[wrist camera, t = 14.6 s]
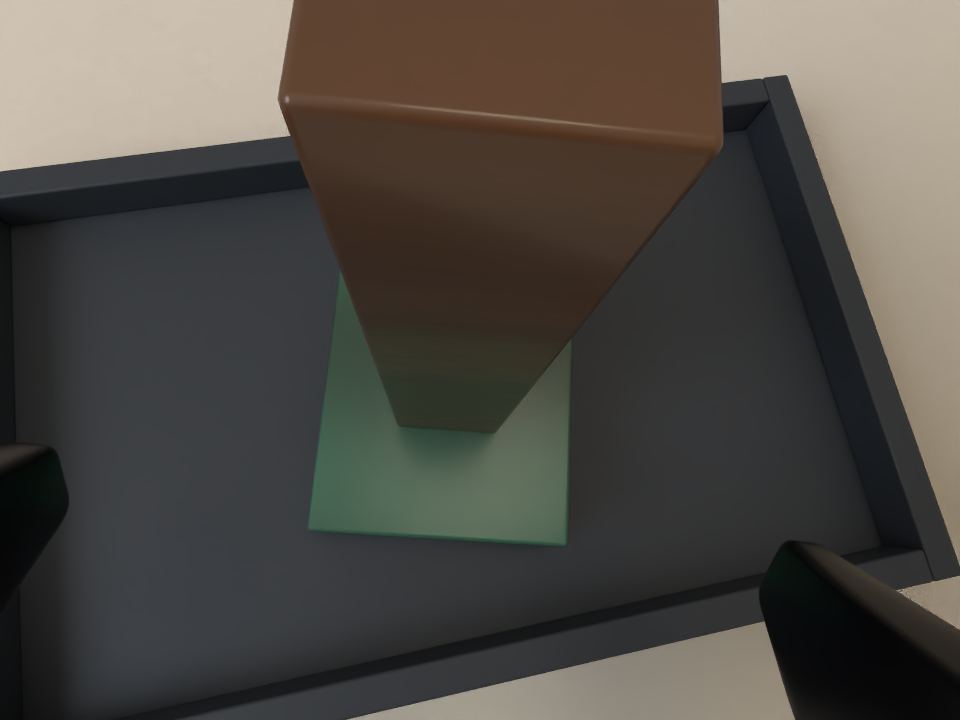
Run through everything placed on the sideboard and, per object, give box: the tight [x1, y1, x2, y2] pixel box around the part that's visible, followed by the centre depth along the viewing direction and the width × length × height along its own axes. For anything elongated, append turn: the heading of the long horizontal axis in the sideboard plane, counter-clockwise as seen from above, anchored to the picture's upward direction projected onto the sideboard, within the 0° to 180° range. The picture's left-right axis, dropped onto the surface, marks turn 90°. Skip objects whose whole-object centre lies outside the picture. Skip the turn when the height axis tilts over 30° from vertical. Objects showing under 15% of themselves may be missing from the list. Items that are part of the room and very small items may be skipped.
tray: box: [0, 75, 960, 720], centre depth 17 cm, size 24×15×2 cm, turn 101°
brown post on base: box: [278, 0, 724, 547], centre depth 10 cm, size 8×6×14 cm
